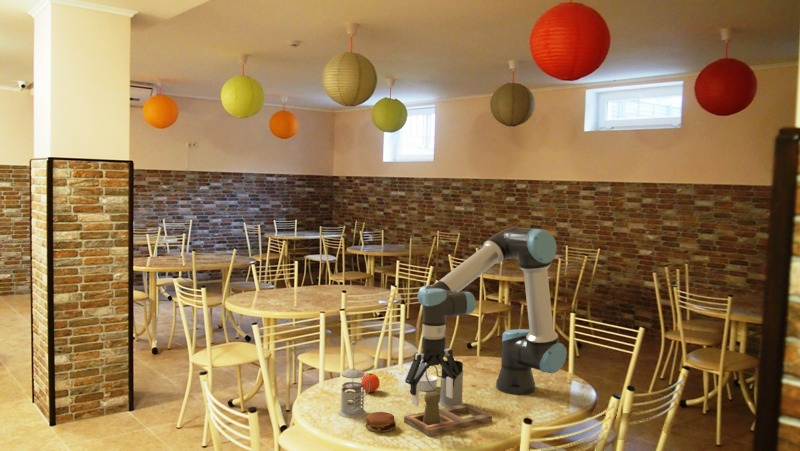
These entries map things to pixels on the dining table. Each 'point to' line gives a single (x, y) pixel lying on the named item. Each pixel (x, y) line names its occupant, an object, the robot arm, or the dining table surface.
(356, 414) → the french press
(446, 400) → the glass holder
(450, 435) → the dining table surface
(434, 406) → the cork
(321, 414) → the dining table surface
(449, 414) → the socket rail
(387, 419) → the burger
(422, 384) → the ramekin
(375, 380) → the tomato
